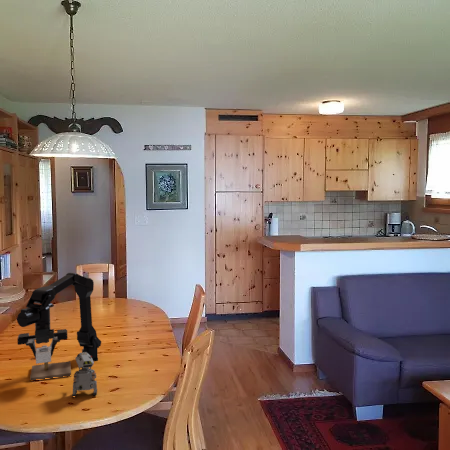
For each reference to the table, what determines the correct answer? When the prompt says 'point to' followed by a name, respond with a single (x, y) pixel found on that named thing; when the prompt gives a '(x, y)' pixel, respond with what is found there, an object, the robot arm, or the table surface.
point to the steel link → (43, 354)
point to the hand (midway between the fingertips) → (43, 356)
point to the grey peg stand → (50, 370)
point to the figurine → (84, 374)
